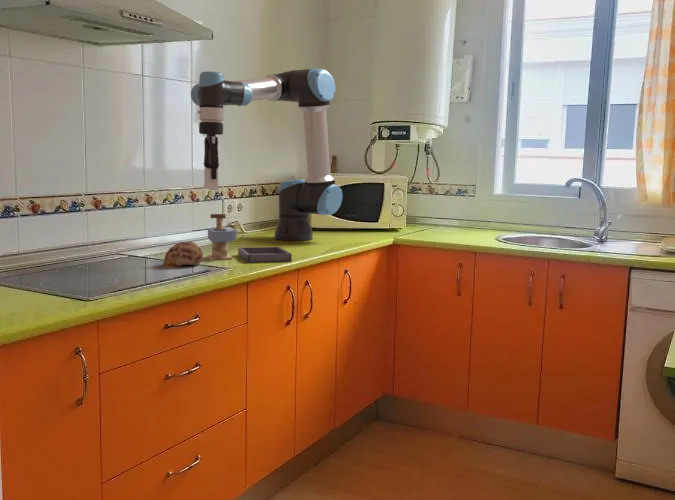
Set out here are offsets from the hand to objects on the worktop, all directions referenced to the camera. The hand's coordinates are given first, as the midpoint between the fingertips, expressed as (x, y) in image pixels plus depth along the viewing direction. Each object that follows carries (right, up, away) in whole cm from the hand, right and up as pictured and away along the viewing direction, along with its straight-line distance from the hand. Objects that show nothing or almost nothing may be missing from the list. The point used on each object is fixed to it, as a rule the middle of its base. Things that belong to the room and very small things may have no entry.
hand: (210, 188), depth 233 cm
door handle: (+3, -22, 0) cm, 22 cm away
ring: (+3, -16, -1) cm, 17 cm away
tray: (+17, -22, +2) cm, 28 cm away
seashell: (-6, -25, -15) cm, 29 cm away
